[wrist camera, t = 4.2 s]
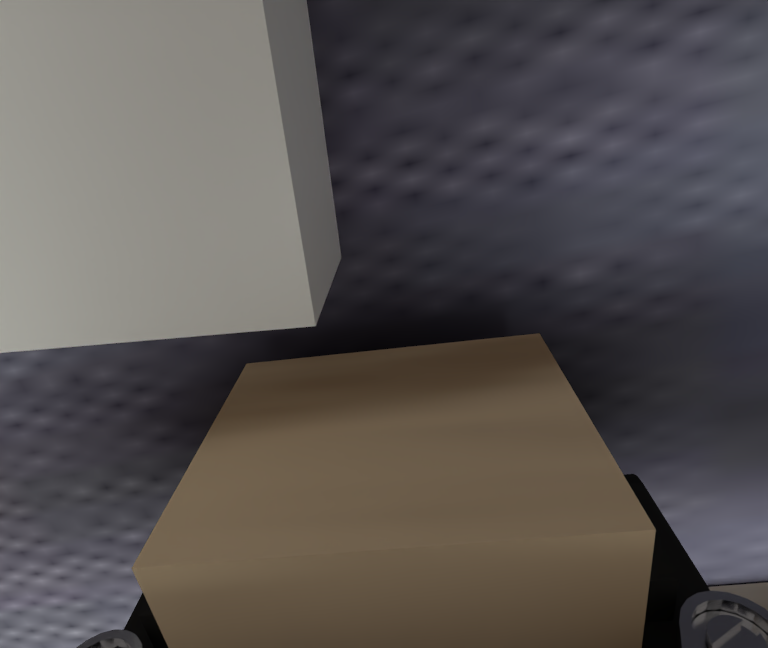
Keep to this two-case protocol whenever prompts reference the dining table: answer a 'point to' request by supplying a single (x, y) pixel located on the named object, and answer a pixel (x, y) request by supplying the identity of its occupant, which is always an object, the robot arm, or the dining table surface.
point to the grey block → (160, 171)
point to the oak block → (402, 510)
